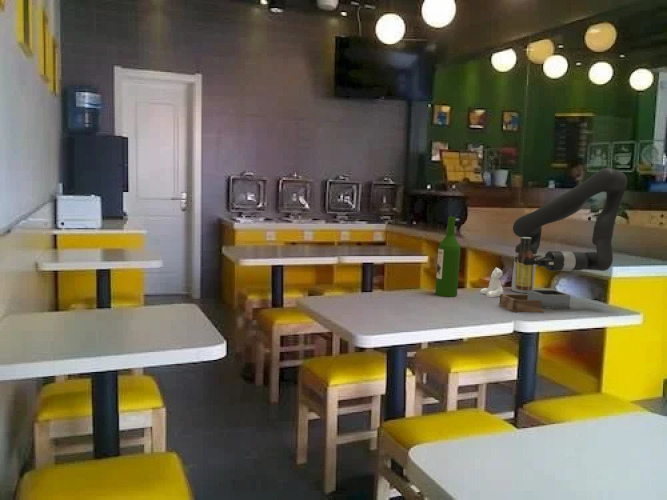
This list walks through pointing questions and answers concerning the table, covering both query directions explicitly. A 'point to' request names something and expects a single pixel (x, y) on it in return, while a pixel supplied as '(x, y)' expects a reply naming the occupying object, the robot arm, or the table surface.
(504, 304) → the tray
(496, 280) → the white creature statuette
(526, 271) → the sauce bottle
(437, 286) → the wine bottle
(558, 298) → the grey open box
